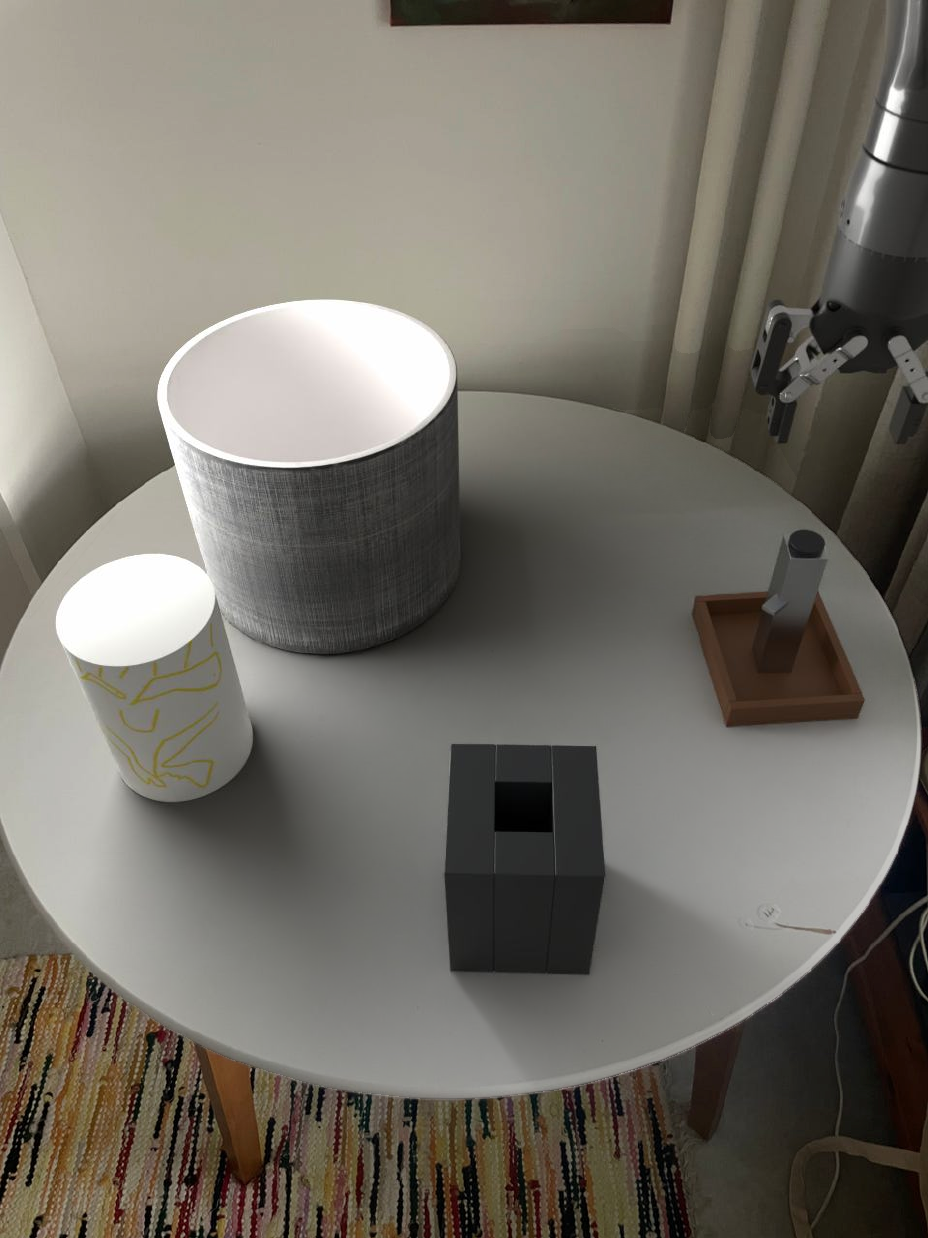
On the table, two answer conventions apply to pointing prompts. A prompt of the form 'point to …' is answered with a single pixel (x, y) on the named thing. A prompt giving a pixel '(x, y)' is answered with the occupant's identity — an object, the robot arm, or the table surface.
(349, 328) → the planter
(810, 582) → the grey square bar
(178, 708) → the white patterned cylinder
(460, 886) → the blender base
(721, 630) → the tray
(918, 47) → the robot arm
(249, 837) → the table surface
